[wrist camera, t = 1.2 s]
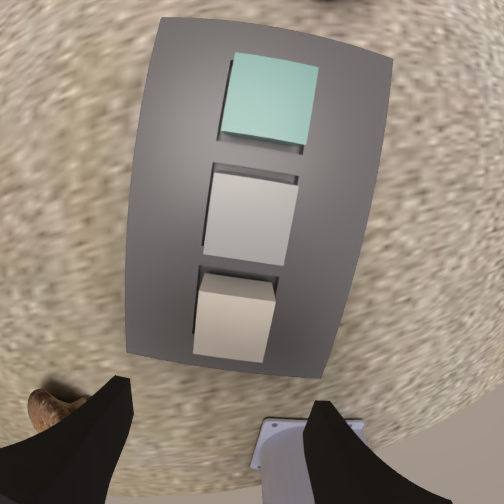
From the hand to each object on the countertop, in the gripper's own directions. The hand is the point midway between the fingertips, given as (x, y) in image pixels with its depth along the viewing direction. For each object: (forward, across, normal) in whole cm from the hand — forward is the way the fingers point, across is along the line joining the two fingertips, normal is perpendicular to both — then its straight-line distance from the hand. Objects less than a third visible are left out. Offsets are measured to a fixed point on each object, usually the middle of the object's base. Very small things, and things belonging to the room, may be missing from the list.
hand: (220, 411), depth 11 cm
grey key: (+9, 0, -6) cm, 11 cm away
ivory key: (+9, 0, 0) cm, 9 cm away
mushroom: (+11, +14, +15) cm, 23 cm away
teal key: (+9, -1, -12) cm, 15 cm away
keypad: (+10, 0, -6) cm, 12 cm away
